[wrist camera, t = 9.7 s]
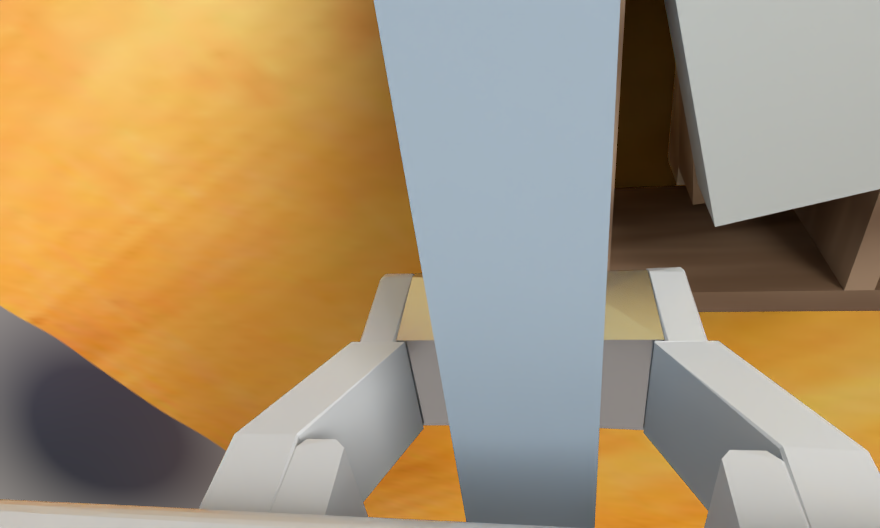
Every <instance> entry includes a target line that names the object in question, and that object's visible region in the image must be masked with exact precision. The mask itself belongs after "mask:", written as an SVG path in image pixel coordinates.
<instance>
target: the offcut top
mask: <svg viewBox="0 0 880 528" xmlns="http://www.w3.org/2000/svg"><path fill="white" fill-rule="evenodd" d="M664 3H665V8H666V14H667V19H668V25H669V30H670V36H671V41H672V46H673V52H674V57H675V63H676V68H677V74H678V79H679V85H680V90H681V95H682V101H683V106H684V112H685V117H686V123H687V128H688V133H689V139H690V144H691V150H692V155H693V161H694V166H695V171H696V177H697V182H698V185H699V188H700V190H701V193H702V195H703V198H704V200H705V203H706V205H707V208H708V210H709V213H710V216H711V218H712V221H713V223H714V226H715V227H717V226H721V225H726V224H730V223H734V222H739V221H743V220H747V219H752V218H756V217H760V216H765V215H769V214H773V213H778V212H782V211H786V210H791V209H795V208H800V207H804V206H808V205H813V204H817V203H821V202H826V201H830V200H834V199H839V198H843V197H847V196H852V195H856V194H860V193H865V192H869V191H873V190H878V189H880V0H664Z"/></svg>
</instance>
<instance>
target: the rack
mask: <svg viewBox="0 0 880 528" xmlns="http://www.w3.org/2000/svg"><path fill="white" fill-rule="evenodd" d="M624 17H625V0H620V20H619V41H618V61H617V81H616V101H615V122H614V142H613V162H612V182H611V203H610V223H609V243H608V263H607V271H615V270H646V269H648V268H669V267H681V268H682V269H683V270H684V271H685V273H686V276H687V280H688V283H689V286H690V289H691V292H692V295H693V298H694V301H695V304H696V307H697V310H698V312H754V311H880V189H878V190H873V191H869V192H865V193H860V194H856V195H852V196H847V197H843V198H839V199H834V200H830V201H826V202H821V203H817V204H813V205H808V206H804V207H800V208H795V209H791V210H786V211H782V212H778V213H773V214H769V215H765V216H760V217H756V218H752V219H747V220H743V221H739V222H734V223H730V224H726V225H721V226H717V227H715V226H714V223H713V221H712V218H711V216H710V213H709V210H708V208H707V205H706V203H703V204H695V205H693V204H692V201H691V199H690V196H689V193H688V191H687V188H686V185H683V186H659V187H634V188H614V186H615V169H616V152H617V135H618V118H619V101H620V84H621V68H622V51H623V34H624Z"/></svg>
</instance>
